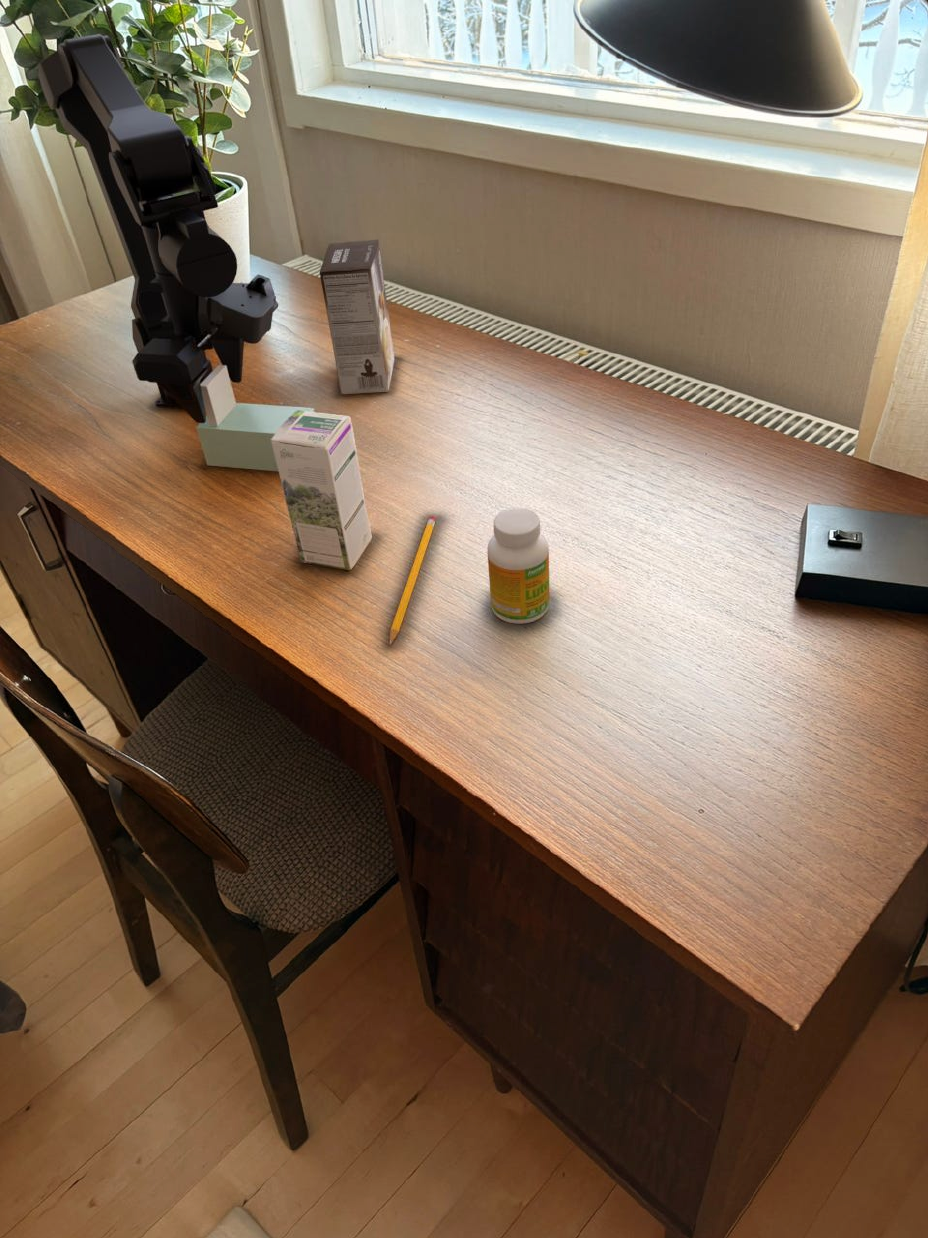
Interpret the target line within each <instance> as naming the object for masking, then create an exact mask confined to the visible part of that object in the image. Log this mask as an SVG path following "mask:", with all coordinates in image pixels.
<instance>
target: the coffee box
mask: <svg viewBox="0 0 928 1238" xmlns="http://www.w3.org/2000/svg"><path fill="white" fill-rule="evenodd" d="M319 278H320V282H321V288H322V293H323V299H324V305H325V311H326V316H327V321H328V327H329V332H330V337H331V345H332V349H333V355H334V362H335V366H336V372H337V377H338V378H337V379H338V383H339V388H340V393H341V395H355V394H369V393H370V394H371V393H386V392H389V390H390V387H391V382H392V375H393V370H394V363H395V353H394V344H393V338H392V330H391V323H390V315H389V309H388V301H387V293H386V286H385V278H384V271H383V264H382V256H381V249H380V239H370V240H369V239H368V240H357V241H355V240H353V241H345V242H334V243H329V244H328V246H327V248H326V252H325V254H324V258H323V261H322V264H321V266H320V269H319Z"/></svg>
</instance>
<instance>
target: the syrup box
mask: <svg viewBox="0 0 928 1238" xmlns="http://www.w3.org/2000/svg"><path fill="white" fill-rule="evenodd" d="M353 428H354V427H353V424H352V418H351V417H350V415H341V414H335V413H334V414H333V413H327V412H316V411H315V412H308V411H300V410H297V411H296V412H294V413H293V414H292V415H291V416H290V417H289V418H288V419H287V420H286V421H285V422H284V423H283V424H282V426H281V427H280V428H279V430H278V431H277V432H276V433H275V435H274V436H273V438H272V439H271V443H272V447H273V451H274V455H275V459H276V463H277V467H278V471H279V472H278V471H277V472H278V474H279V478H280V483H281V486H282V490H283V496H284V499H285V503H286V507H287V511H288V516H289V520H290V523H291V528H292V531H293V535H294V539H295V543H296V544H295V545H296V547H297V552H298V556H299V560H300V562H301V563H304V564H309V565H315V566H322V567H327V568H334V569H339V570H346V571H351V570H352V569H353V568H354V566H355V565H356V564H357V563H358V561H359V560H360V558H361V556H362V555H363V553H364V552H365V550H366V549H367V547H368V546H369V544H370V542H371V541H372V539H373V536H372V535H373V534H372V530H371V524H370V521H369V515H368V510H367V505H366V500H365V499H366V498H365V493H364V488H363V482H362V477H361V469H360V463H359V457H358V450H357V446H356V445H357V444H356V441H355V434H354V429H353Z"/></svg>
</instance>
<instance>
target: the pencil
mask: <svg viewBox="0 0 928 1238" xmlns="http://www.w3.org/2000/svg"><path fill="white" fill-rule="evenodd" d="M436 520H437V518H436V516H435V515H430V516H429V517H428V519H427V522H426V526H425V528H424V532H423V534H422V537H421V540H420V543H419V545H418V548H417V551H416V554H415V558H414V560H413V563H412V566H411V569H410V573H409V575H408V578H407V581H406V584H405V587H404V589H403V593H402V596H401V599H400V601H399V604H398V608H397V610H396V613H395V616H394V619H393V621H392V624H391V627H390V632H389V645H391V644H392V643H393V642H394V640H395V638H396V637H397V636H398V634H399V633H400V629H401V626H402V623H403V620H404V618H405V614H406V611H407V608H408V606H409V602H410V599H411V596H412V593H413V591H414V587H415V584H416V581H417V578H418V574H419V573H420V569H421V566H422V563H423V560H424V557H425V555H426V554H425V553H426V550H427V547H428V545H429V541H430V539H431V535H432V532H433V530H434V526H435V524H436Z"/></svg>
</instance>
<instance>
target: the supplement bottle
mask: <svg viewBox="0 0 928 1238" xmlns="http://www.w3.org/2000/svg"><path fill="white" fill-rule="evenodd" d="M549 546H550V545H549V541H548V540H547V538H546V536H545V535H544V534H543V533H542V532H541V519H540V517H539V515H538V514H537V513H536V512H535V511H534V510H531V509H530V508H526V507H510V508H506V509H503V510H501V511H500V512H498V513H497V514H496V515H495V516H494V519H493V535H492V536H491V537H490V539H489V540H488V544H487V566H488V580H489V594H490V607H491V610H492V612H493V614H494V615H495V616H496V617H497V618H499V619H500V620H502V621H504V622H506V623H510V624H517V625H518V624H519V625H521V624H529V623H533V622H536V621H538V620H539V619H540V618H542V617H544V615H546V613H547V612H548V610H549V606H550V549H549Z"/></svg>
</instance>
